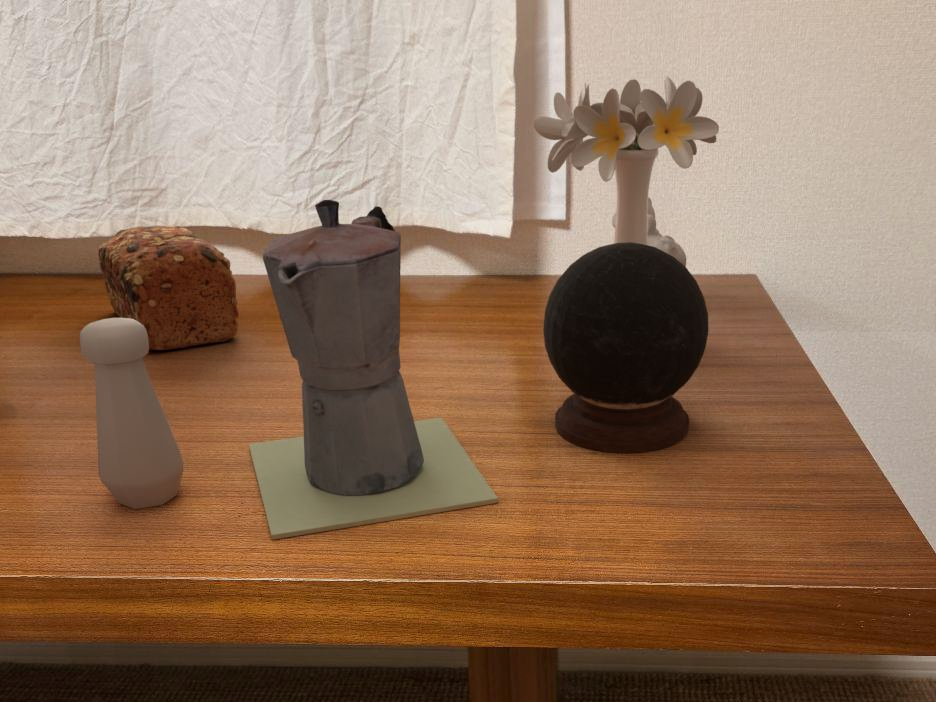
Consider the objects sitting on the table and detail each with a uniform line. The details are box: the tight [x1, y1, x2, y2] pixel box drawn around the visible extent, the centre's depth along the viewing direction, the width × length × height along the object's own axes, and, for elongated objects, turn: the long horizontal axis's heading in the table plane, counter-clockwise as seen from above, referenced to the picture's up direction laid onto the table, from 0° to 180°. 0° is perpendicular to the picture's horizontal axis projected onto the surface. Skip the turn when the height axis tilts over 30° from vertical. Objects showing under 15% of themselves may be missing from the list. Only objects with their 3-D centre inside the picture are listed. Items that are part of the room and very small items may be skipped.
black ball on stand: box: [542, 242, 710, 454], centre depth 81 cm, size 13×13×15 cm
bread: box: [97, 224, 240, 351], centre depth 107 cm, size 19×11×10 cm, turn 30°
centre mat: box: [248, 417, 499, 541], centre depth 77 cm, size 16×16×1 cm
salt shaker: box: [79, 317, 184, 510], centre depth 71 cm, size 6×6×13 cm
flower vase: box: [533, 76, 720, 245], centre depth 97 cm, size 13×18×25 cm
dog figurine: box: [611, 196, 687, 268], centre depth 116 cm, size 5×13×11 cm, turn 24°
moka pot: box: [262, 199, 424, 495], centre depth 72 cm, size 10×15×20 cm, turn 166°
